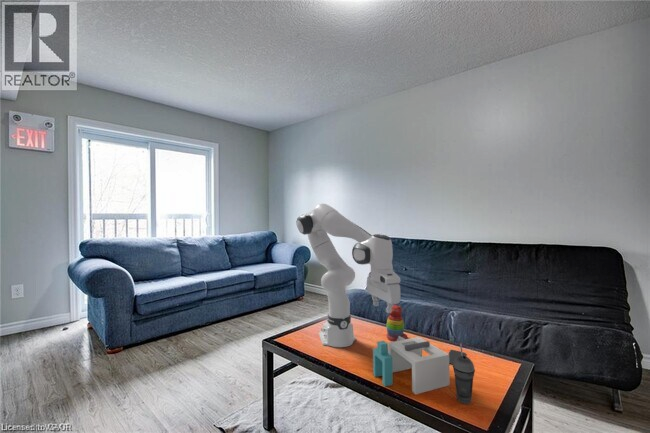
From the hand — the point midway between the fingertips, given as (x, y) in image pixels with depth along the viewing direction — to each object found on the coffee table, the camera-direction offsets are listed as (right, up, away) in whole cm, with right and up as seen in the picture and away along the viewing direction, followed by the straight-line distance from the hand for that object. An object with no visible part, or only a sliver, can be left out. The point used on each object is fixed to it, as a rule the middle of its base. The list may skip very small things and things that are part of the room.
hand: (382, 309), depth 119 cm
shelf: (+15, -29, +1) cm, 32 cm away
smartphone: (+37, -29, +17) cm, 50 cm away
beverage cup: (+27, -29, -13) cm, 41 cm away
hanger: (0, -29, 0) cm, 29 cm away
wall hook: (+16, -29, +19) cm, 38 cm away
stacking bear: (+15, -29, +40) cm, 51 cm away
